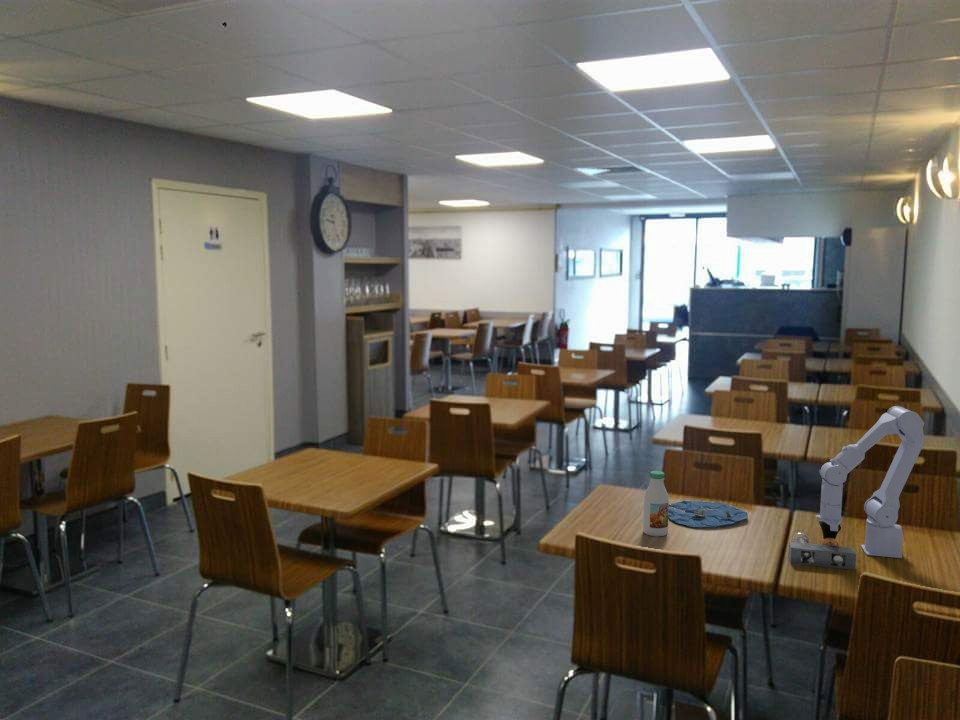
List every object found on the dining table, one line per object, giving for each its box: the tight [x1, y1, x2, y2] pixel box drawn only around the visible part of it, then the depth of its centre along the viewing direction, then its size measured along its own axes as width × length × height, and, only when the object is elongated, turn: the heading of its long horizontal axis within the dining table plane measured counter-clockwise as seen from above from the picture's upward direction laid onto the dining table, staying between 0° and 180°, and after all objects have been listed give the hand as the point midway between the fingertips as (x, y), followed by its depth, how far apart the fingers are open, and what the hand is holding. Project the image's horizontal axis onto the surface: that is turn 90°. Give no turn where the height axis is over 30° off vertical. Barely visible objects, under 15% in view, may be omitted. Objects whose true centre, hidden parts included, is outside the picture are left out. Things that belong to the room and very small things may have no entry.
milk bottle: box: [642, 470, 670, 537], centre depth 238 cm, size 8×8×20 cm
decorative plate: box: [668, 500, 749, 529], centre depth 256 cm, size 30×30×5 cm
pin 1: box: [792, 532, 812, 559], centre depth 220 cm, size 13×4×4 cm, turn 165°
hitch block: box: [787, 541, 857, 571], centre depth 214 cm, size 17×5×5 cm, turn 74°
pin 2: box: [821, 537, 843, 564], centre depth 216 cm, size 13×4×4 cm, turn 165°
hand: (828, 546), depth 224 cm, fingers closed
